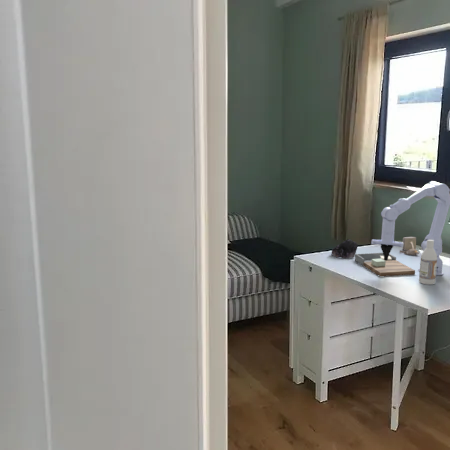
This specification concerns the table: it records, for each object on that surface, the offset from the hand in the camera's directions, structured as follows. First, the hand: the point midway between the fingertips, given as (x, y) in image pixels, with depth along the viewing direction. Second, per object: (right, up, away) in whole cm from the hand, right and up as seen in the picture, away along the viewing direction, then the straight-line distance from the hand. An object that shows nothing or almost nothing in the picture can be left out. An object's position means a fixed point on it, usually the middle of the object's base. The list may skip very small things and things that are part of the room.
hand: (386, 259), depth 247 cm
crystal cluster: (-12, 0, +33) cm, 35 cm away
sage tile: (-1, -3, +8) cm, 9 cm away
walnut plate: (+3, -5, +6) cm, 9 cm away
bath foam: (+15, -10, -12) cm, 22 cm away
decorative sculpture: (+25, +1, +39) cm, 47 cm away
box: (+1, -3, +20) cm, 20 cm away
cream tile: (+6, -2, +19) cm, 20 cm away
